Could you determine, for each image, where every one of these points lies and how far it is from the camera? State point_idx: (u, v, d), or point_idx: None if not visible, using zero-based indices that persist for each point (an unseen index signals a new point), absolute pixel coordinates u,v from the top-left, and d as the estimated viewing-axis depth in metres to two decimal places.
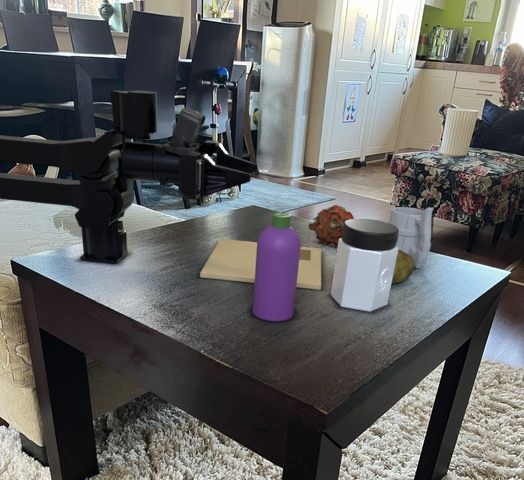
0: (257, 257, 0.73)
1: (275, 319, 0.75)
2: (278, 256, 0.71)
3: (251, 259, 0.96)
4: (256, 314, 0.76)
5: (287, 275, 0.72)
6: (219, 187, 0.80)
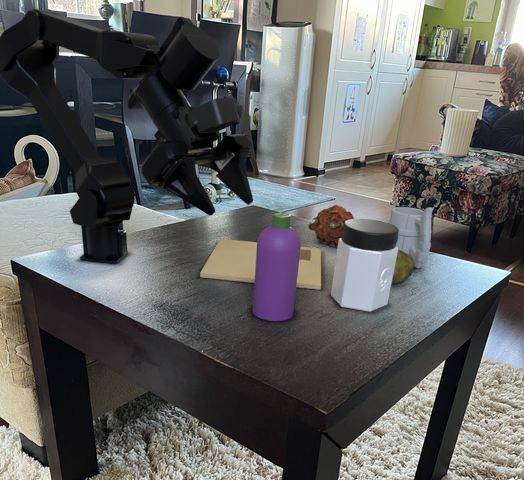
0: (257, 257, 0.73)
1: (275, 319, 0.75)
2: (278, 256, 0.71)
3: (251, 259, 0.96)
4: (256, 314, 0.76)
5: (287, 275, 0.72)
6: (181, 194, 0.71)
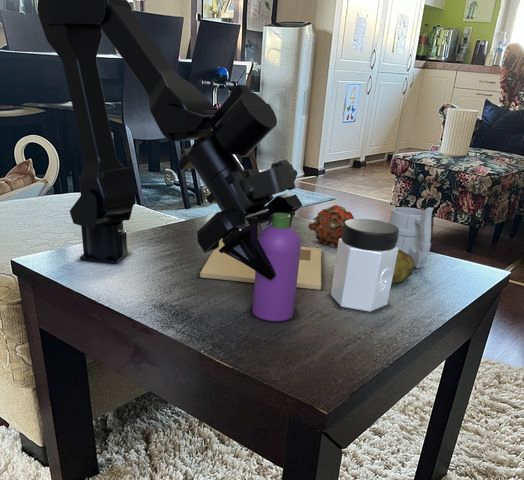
0: None
1: (275, 319, 0.75)
2: (278, 256, 0.71)
3: None
4: (256, 314, 0.76)
5: (287, 275, 0.72)
6: (242, 258, 0.72)
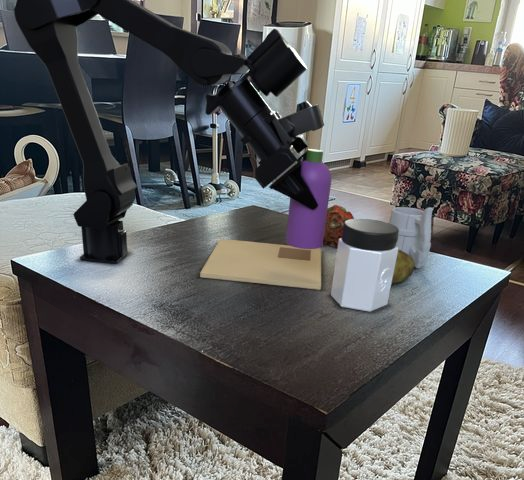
0: None
1: (314, 247, 0.84)
2: (319, 187, 0.79)
3: (251, 259, 0.96)
4: (295, 245, 0.84)
5: (325, 204, 0.82)
6: (288, 192, 0.79)
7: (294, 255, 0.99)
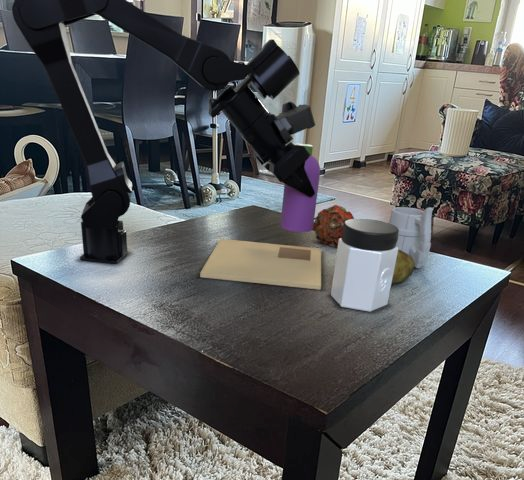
0: None
1: (309, 229, 0.96)
2: (314, 177, 0.92)
3: (251, 259, 0.96)
4: (295, 230, 0.95)
5: (317, 192, 0.94)
6: (292, 183, 0.89)
7: (294, 255, 0.99)
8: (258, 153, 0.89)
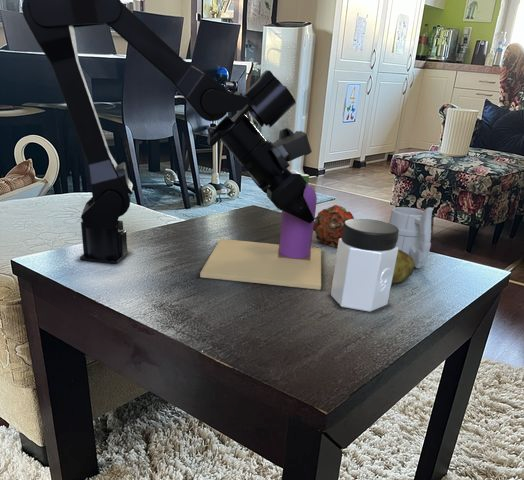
0: None
1: (307, 256, 0.99)
2: (311, 206, 0.94)
3: (251, 259, 0.96)
4: (292, 256, 0.98)
5: None
6: (292, 211, 0.90)
7: None
8: (256, 179, 0.91)
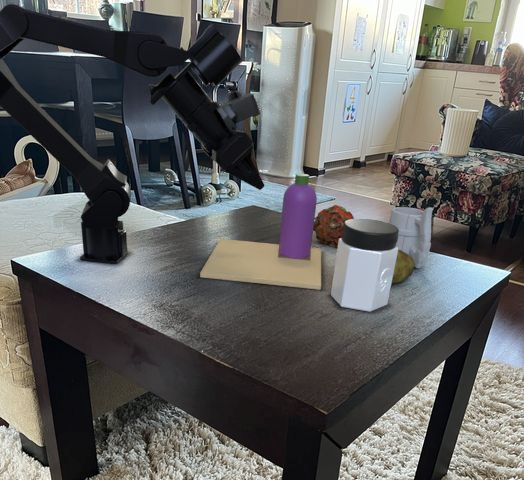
0: (292, 211, 0.94)
1: (307, 256, 0.99)
2: (311, 206, 0.94)
3: (251, 259, 0.96)
4: (292, 256, 0.98)
5: None
6: (240, 175, 0.85)
7: None
8: (202, 142, 0.86)
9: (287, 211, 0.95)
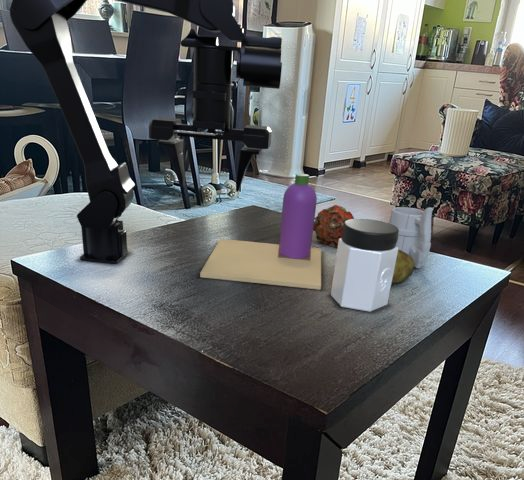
0: (292, 211, 0.94)
1: (307, 256, 0.99)
2: (311, 206, 0.94)
3: (251, 259, 0.96)
4: (292, 256, 0.98)
5: None
6: (246, 165, 0.85)
7: None
8: (216, 117, 0.81)
9: (287, 211, 0.95)
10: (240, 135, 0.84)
